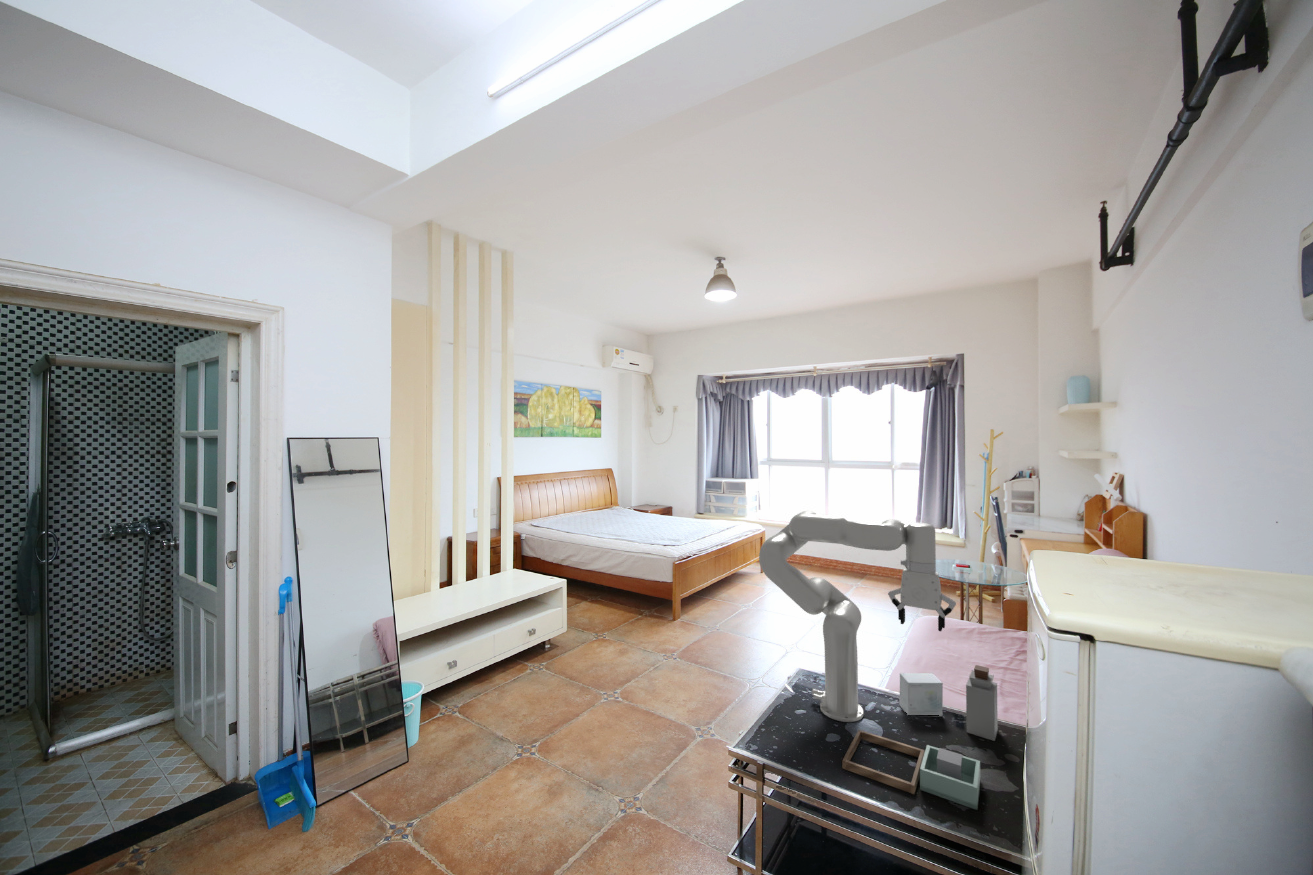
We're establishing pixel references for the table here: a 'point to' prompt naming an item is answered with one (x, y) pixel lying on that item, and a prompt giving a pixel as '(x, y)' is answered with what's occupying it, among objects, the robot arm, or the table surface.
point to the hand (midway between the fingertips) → (921, 626)
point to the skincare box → (921, 694)
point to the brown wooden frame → (879, 775)
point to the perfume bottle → (981, 704)
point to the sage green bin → (951, 780)
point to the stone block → (950, 764)
